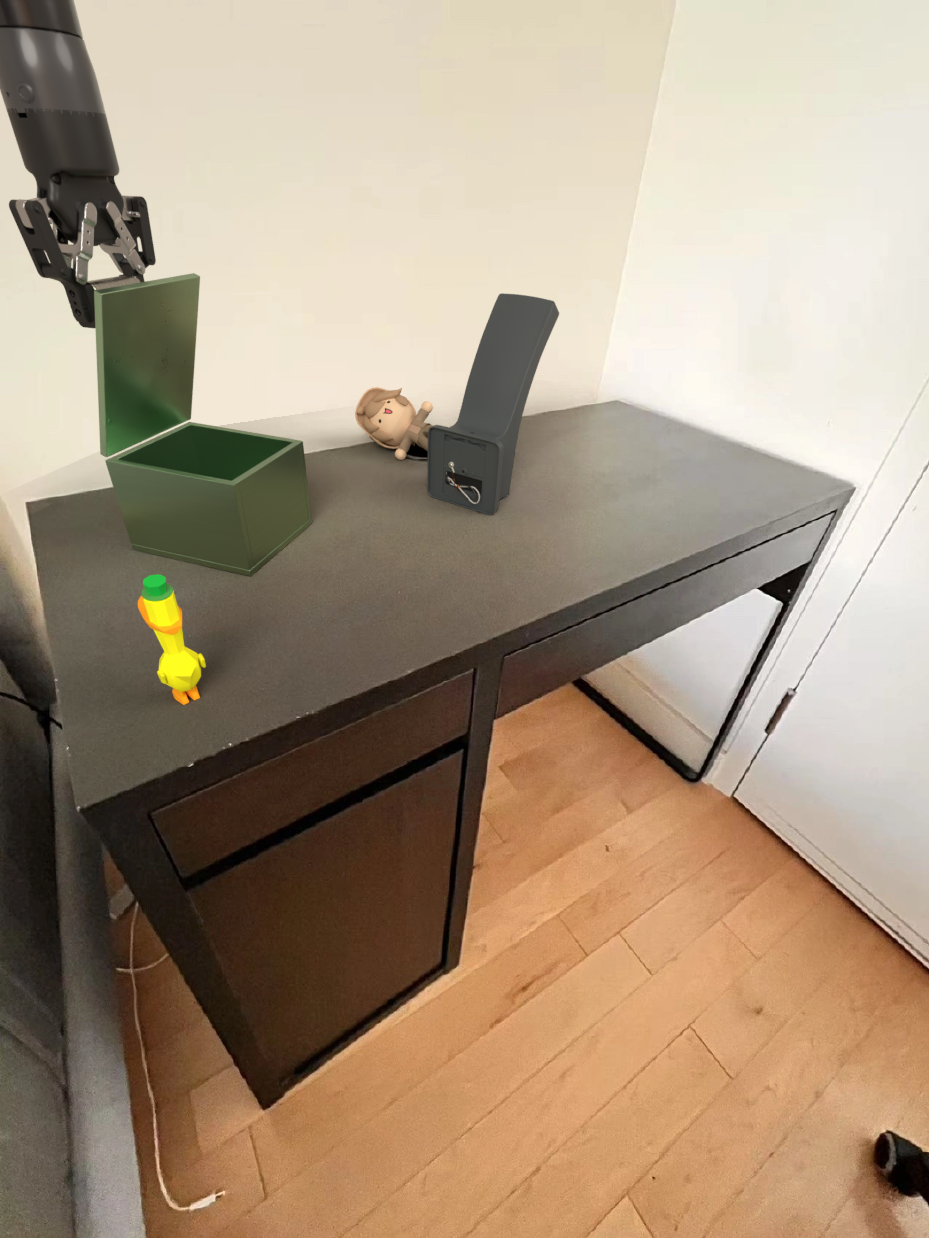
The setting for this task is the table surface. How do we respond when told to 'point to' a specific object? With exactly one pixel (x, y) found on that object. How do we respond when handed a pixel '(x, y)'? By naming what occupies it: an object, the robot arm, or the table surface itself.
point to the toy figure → (170, 638)
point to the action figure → (393, 420)
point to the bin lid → (144, 356)
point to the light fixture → (491, 407)
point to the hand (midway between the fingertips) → (116, 320)
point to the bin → (213, 496)
